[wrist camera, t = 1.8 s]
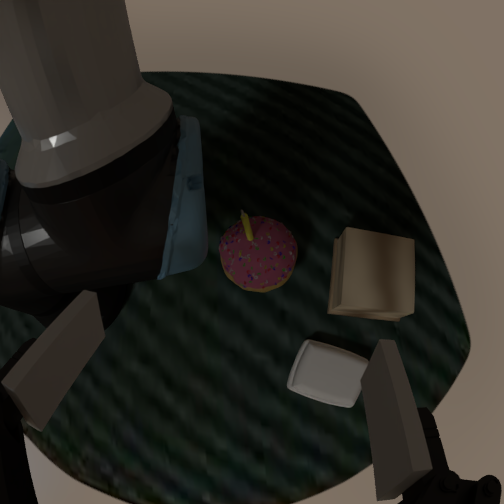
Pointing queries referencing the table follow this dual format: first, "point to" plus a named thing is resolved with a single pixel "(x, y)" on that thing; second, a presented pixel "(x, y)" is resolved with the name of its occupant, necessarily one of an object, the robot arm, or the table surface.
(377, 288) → the pedestal
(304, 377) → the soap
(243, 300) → the table surface
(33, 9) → the robot arm
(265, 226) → the cupcake
